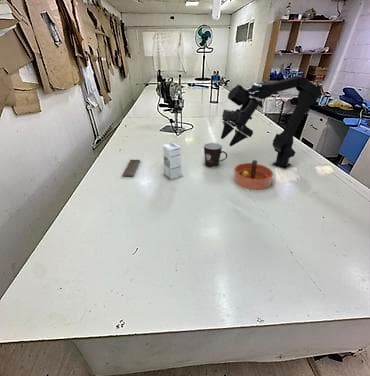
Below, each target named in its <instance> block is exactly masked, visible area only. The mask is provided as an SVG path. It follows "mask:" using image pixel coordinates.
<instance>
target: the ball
mask: <svg viewBox="0 0 370 376" xmlns="http://www.w3.org/2000/svg"><path fill="white" fill-rule="evenodd" d="M242 176H244V177H246V178H247V177H248V176H249V172H248V171H243V173H242Z"/></svg>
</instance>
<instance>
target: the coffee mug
mask: <svg viewBox="0 0 370 376" xmlns="http://www.w3.org/2000/svg"><path fill="white" fill-rule="evenodd" d="M222 149H223V145H222V144H220V143H218V142H207V143H204V144H203V151H204V166H205V167H207V168H210V169H211V168H214V167H218V166H219V163H221V162H224V161H225V160H226V159H227V158H228V153H227V152H226V151H224V150H222ZM222 153H224V155H225V157H224V158H223V159H221V154H222Z"/></svg>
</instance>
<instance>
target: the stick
mask: <svg viewBox="0 0 370 376" xmlns="http://www.w3.org/2000/svg"><path fill="white" fill-rule="evenodd" d="M251 163H252V167H251V174H250V178H251V179H255V174H256V167H257V164H258V160H254V159H253V160H252V161H251Z"/></svg>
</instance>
